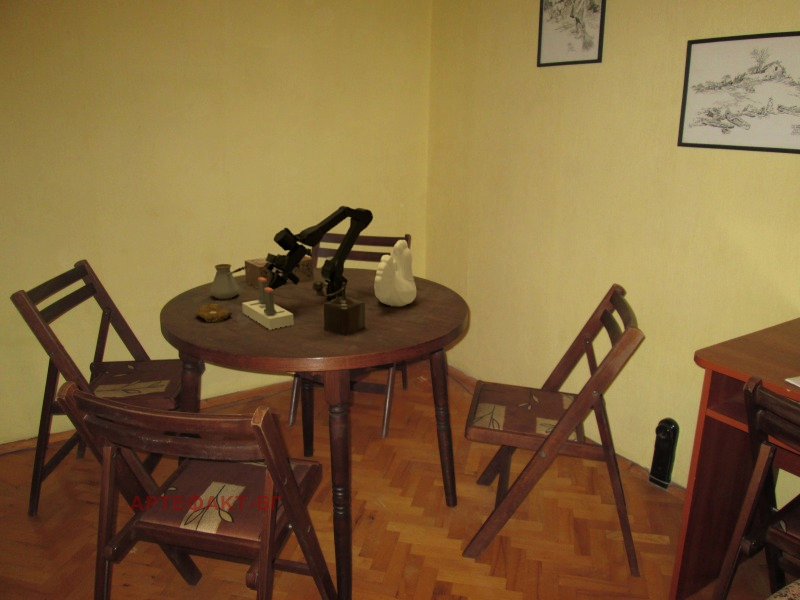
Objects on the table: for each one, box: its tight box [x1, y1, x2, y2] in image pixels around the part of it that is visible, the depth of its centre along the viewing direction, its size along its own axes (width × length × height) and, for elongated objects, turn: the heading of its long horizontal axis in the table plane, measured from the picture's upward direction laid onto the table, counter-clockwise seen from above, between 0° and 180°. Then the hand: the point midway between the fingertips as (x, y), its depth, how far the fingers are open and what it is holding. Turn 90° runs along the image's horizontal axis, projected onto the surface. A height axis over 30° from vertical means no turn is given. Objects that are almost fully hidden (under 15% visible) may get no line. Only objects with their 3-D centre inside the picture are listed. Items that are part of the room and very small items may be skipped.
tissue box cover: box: [244, 255, 315, 289], centre depth 268 cm, size 26×14×10 cm, turn 128°
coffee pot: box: [209, 263, 249, 300], centre depth 240 cm, size 21×12×15 cm, turn 51°
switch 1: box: [257, 277, 267, 303], centre depth 223 cm, size 3×4×9 cm
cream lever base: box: [241, 299, 295, 331], centre depth 218 cm, size 9×23×4 cm, turn 37°
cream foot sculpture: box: [373, 239, 417, 307], centre depth 232 cm, size 25×16×25 cm, turn 143°
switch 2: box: [264, 287, 276, 315], centre depth 210 cm, size 3×4×9 cm
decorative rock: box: [194, 303, 233, 324], centre depth 221 cm, size 11×4×15 cm
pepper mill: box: [311, 280, 366, 336], centre depth 205 cm, size 16×11×18 cm
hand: (267, 291), depth 224 cm, fingers closed
